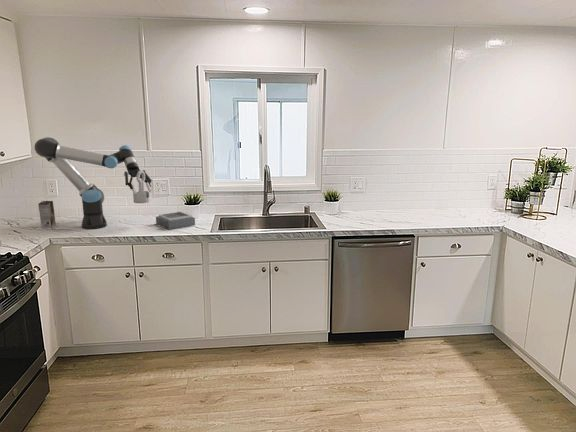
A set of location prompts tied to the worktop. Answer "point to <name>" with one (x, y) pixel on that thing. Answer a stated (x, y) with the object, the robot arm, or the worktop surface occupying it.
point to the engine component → (141, 190)
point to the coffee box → (47, 214)
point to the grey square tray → (175, 220)
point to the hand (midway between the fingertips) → (142, 191)
